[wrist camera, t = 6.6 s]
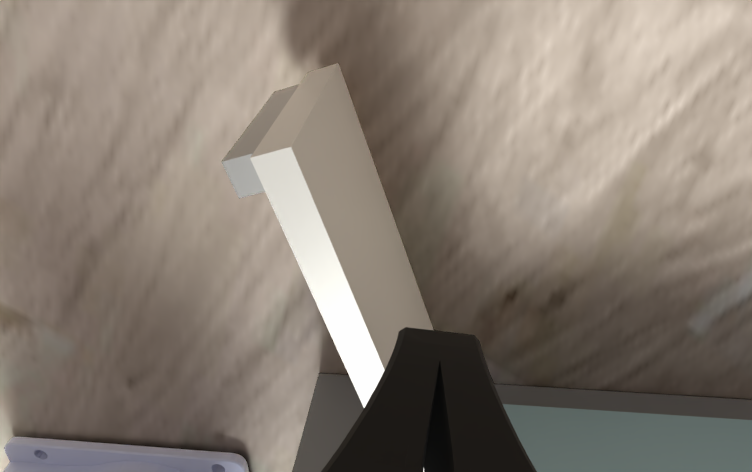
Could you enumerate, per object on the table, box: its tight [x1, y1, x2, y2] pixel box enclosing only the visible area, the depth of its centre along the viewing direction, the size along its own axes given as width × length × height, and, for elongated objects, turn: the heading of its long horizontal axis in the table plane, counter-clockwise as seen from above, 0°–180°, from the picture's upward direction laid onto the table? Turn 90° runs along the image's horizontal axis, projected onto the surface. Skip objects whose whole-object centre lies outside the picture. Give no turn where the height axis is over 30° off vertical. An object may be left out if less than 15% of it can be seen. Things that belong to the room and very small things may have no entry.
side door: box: [222, 63, 433, 472], centre depth 16 cm, size 10×2×5 cm, turn 18°
